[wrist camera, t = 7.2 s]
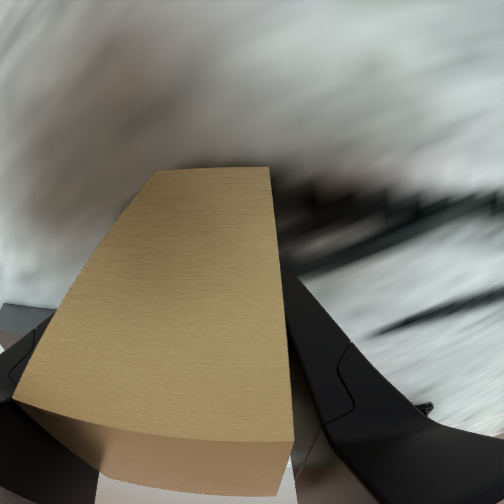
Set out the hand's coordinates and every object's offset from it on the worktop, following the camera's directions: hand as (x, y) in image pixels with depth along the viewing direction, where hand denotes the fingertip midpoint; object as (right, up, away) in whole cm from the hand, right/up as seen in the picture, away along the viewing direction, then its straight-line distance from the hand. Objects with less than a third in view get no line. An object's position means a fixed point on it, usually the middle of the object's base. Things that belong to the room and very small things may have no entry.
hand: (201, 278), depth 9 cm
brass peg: (0, +2, +3) cm, 4 cm away
